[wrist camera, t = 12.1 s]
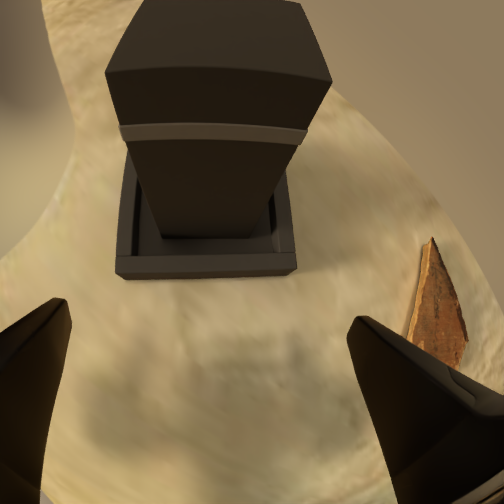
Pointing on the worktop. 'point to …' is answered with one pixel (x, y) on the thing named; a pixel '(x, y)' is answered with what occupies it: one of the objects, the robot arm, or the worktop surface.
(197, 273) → the base pad
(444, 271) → the shard
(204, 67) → the dark banded block
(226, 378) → the worktop surface
